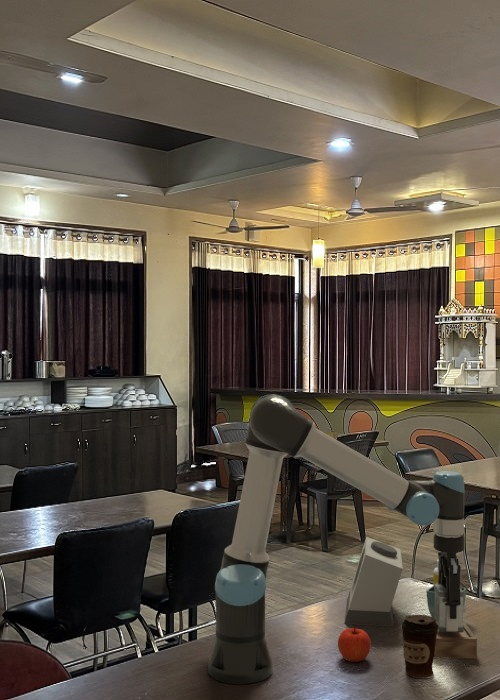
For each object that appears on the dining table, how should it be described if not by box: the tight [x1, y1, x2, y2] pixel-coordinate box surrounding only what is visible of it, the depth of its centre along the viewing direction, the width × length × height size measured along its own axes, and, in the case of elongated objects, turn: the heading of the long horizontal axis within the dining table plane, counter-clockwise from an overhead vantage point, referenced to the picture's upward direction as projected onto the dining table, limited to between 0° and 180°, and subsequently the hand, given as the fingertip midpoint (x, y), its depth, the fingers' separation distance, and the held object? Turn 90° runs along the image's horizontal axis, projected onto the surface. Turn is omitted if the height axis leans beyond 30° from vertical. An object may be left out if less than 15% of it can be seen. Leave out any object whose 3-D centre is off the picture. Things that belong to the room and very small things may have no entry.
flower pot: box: [426, 583, 467, 618], centre depth 218 cm, size 9×9×9 cm
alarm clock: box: [343, 536, 404, 627], centre depth 225 cm, size 20×16×20 cm
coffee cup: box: [401, 614, 438, 679], centre depth 183 cm, size 9×8×13 cm
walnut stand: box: [434, 622, 478, 659], centre depth 198 cm, size 11×11×5 cm
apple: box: [337, 626, 372, 663], centre depth 192 cm, size 8×8×8 cm
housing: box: [433, 583, 464, 632], centre depth 198 cm, size 6×6×10 cm
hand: (448, 625), depth 198 cm, fingers closed on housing, 6 cm apart
